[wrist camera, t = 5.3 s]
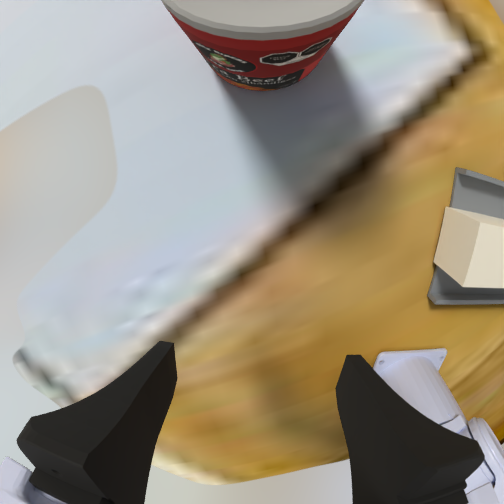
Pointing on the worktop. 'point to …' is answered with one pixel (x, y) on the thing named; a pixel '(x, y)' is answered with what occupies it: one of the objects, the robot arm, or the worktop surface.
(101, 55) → the worktop surface
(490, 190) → the tray
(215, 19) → the canned food
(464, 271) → the cream block
